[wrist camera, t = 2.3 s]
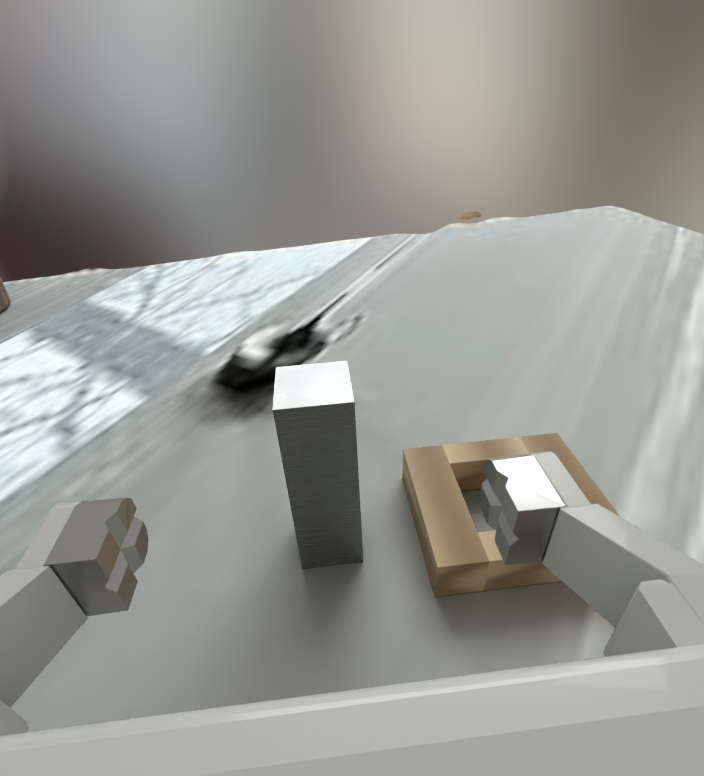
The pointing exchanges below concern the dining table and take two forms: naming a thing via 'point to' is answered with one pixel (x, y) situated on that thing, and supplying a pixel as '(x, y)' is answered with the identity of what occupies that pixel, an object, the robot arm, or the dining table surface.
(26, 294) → the dining table surface
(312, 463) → the post
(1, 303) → the plant pot
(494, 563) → the well block
